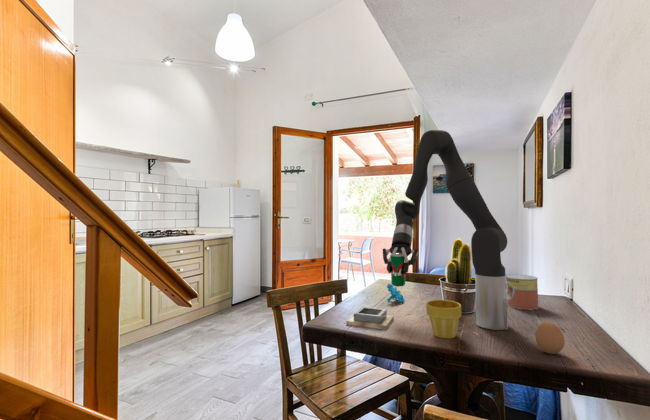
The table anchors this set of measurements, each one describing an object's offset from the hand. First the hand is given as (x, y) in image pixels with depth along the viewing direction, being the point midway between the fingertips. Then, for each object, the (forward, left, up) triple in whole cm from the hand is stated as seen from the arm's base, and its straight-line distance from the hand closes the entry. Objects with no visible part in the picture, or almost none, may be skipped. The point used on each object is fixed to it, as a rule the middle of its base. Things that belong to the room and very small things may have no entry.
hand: (396, 272), depth 119 cm
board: (+8, +8, -17) cm, 20 cm away
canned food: (-44, -35, -17) cm, 59 cm away
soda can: (0, -2, -5) cm, 6 cm away
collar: (+8, +8, -16) cm, 19 cm away
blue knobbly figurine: (+6, -25, -17) cm, 31 cm away
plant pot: (-17, +12, -17) cm, 27 cm away
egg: (-44, +16, -17) cm, 50 cm away
